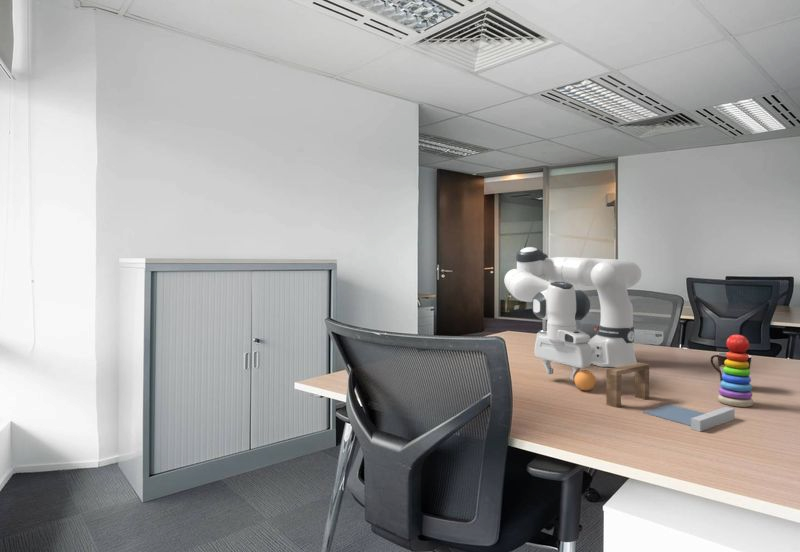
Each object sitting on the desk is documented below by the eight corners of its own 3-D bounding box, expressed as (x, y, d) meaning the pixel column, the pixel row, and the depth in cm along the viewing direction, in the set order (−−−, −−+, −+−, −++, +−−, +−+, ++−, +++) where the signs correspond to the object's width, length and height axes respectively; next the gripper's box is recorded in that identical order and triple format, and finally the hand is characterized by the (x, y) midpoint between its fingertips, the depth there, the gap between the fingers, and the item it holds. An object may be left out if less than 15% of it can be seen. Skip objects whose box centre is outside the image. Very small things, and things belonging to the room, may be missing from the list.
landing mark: (642, 412, 124) (642, 411, 124) (669, 404, 130) (669, 404, 130) (691, 426, 114) (691, 425, 114) (717, 417, 120) (717, 416, 120)
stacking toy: (743, 409, 126) (744, 338, 125) (711, 401, 133) (712, 334, 132) (759, 405, 129) (760, 335, 129) (727, 397, 136) (728, 331, 136)
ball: (566, 379, 148) (577, 368, 144) (580, 376, 151) (590, 364, 147) (579, 396, 144) (590, 384, 140) (592, 392, 147) (603, 380, 143)
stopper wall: (691, 429, 112) (691, 418, 112) (725, 416, 120) (725, 406, 120) (700, 431, 110) (700, 420, 110) (734, 418, 118) (734, 408, 118)
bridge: (606, 404, 131) (606, 369, 131) (639, 395, 139) (639, 362, 139) (616, 407, 129) (616, 371, 128) (649, 398, 137) (649, 364, 136)
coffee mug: (757, 392, 141) (757, 358, 141) (724, 390, 143) (724, 357, 143) (737, 382, 153) (738, 350, 152) (707, 381, 154) (708, 350, 154)
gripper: (530, 330, 160) (529, 371, 161) (580, 339, 142) (580, 385, 143) (543, 328, 163) (543, 369, 164) (594, 337, 145) (594, 382, 146)
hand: (561, 376), depth 153 cm, fingers open, 8 cm apart
